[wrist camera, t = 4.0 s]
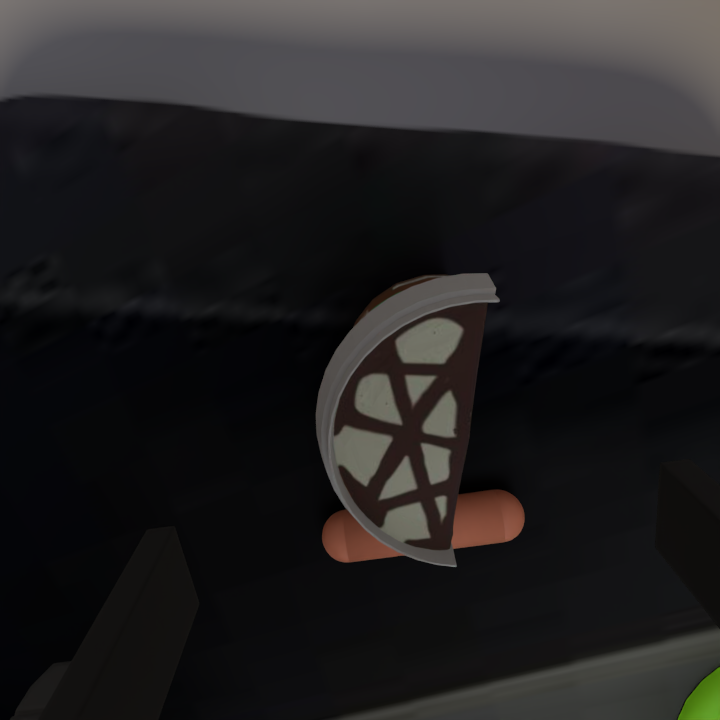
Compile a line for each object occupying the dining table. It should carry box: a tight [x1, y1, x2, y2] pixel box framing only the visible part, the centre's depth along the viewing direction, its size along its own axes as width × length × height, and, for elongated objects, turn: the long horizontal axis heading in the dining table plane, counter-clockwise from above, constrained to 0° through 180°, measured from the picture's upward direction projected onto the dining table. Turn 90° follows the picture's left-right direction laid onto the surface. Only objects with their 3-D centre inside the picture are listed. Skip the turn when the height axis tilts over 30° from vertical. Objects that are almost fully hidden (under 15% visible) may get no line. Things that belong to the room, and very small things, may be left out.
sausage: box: [322, 489, 524, 562], centre depth 31 cm, size 12×3×3 cm, turn 98°
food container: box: [316, 273, 500, 567], centre depth 24 cm, size 12×6×10 cm, turn 176°
